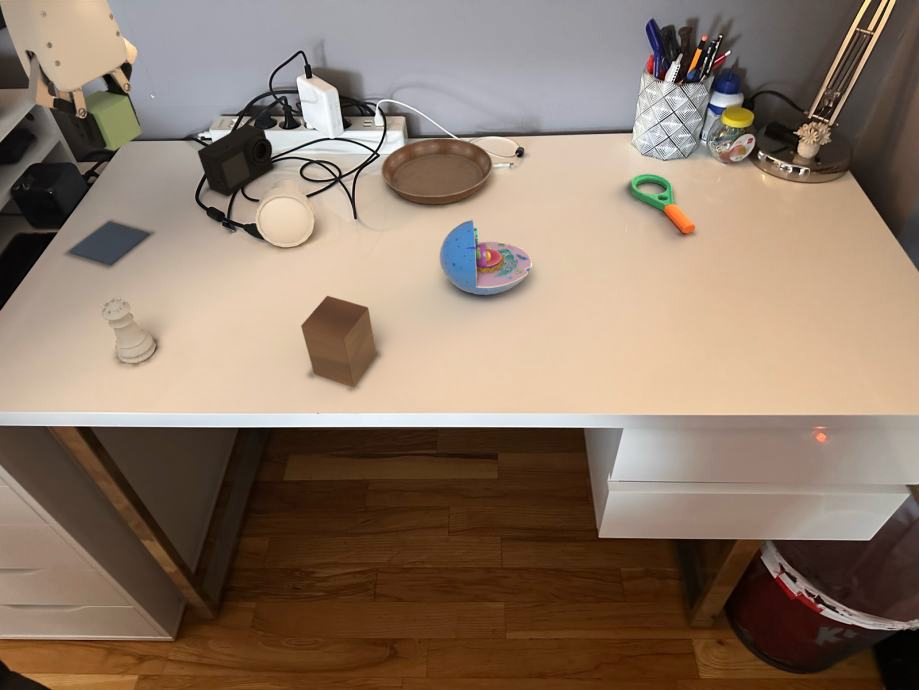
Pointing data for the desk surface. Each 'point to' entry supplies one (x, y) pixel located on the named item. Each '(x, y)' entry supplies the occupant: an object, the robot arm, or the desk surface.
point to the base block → (339, 340)
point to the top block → (113, 118)
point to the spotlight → (285, 215)
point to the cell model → (481, 262)
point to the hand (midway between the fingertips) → (111, 134)
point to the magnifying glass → (658, 202)
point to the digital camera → (236, 159)
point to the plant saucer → (437, 170)
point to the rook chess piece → (127, 332)
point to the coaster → (109, 243)
